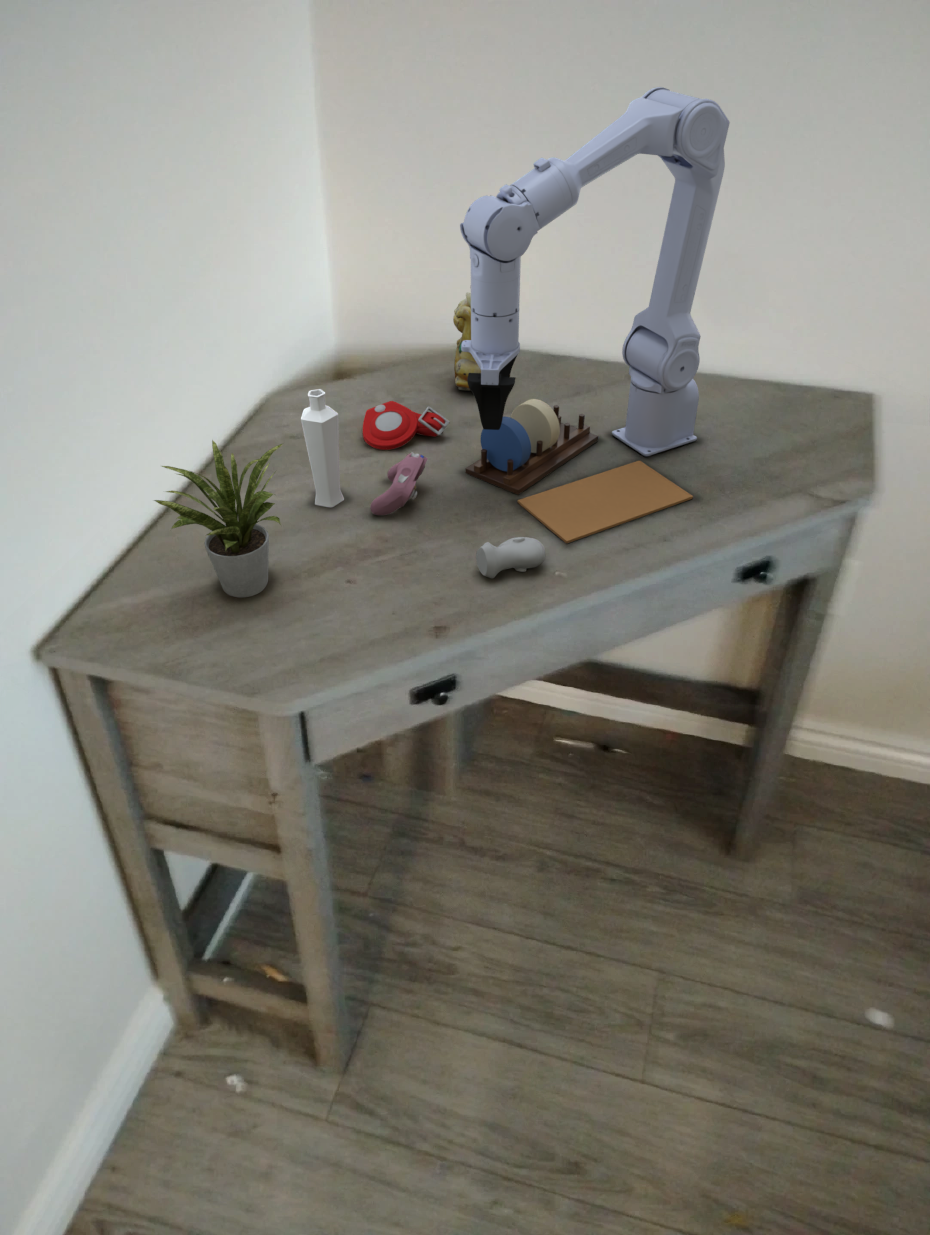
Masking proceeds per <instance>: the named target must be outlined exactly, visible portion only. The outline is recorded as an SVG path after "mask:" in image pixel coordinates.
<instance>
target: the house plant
mask: <svg viewBox="0 0 930 1235" xmlns="http://www.w3.org/2000/svg"><path fill="white" fill-rule="evenodd" d="M284 443H285V442H283V443H280V444H278V445H275V446H274V447H272V448H270V449H269V450H267V451H266V452H265V453H264V454H262V456H260V458H257V459H253V460H251V461H250V462H248V463H247V464H246V465H245V466H244V468H243V470H242V471H241V474H240V479H239V476H238V475H239V474H238V464H237V461H236V458H235V455H234V453H233V452H231V455H230V468H231V469H230V470H231V474H230V471H229V469H228V468H227V467H226V466H225V461H224V456H223V454H222V453H221V451H220V448H219V447H218V445H217V443H216V442H215V441H214V440H213V439H212V441H211V447H212V453H213V460H214V466H215V474H216V479H217V481H218V483H219V488H218V486H217V485H216V484H215V483H213V481H212V480H211V479H209V478H208V477H206V476H203V475H202V474H200V473H197V472H195V471H192V470H189V469H184V468H180V467H179V468H178V467H176V466H170V465H161V467H162V468H164V469H167V470H171V471H173V472H177V475H179V476H181V477H184V478H186V479H188V480H189V481H190V482H192V483H193V484H194V485H195V486H196V487H197V488H198V489H199V490H200V491H201V493H202V494H203V495H204V496H205V497H206V499H207V500H208V501H209V502H210V504H211V505H212V506H213V508H211V507H209V505H207V504H206V503H205V502H203V501H202V500H200V499H199V498H197V497H195V496H193V495H191V494H189V493H187V492H183V491H178V490H167V491H163V492H164V493H170V494H177V495H181V496H184V497H187V498H189V499H191V500H193V501H194V502H196V503H197V504H199V505H201V506H203V507H204V508H206V509H207V510H208V511H210V512H211V513H212V514H214V516H216V517H217V518H218V519H219V520H221V521H219V520H218V519H215V517H212V516H210V515H209V514H207V513H205V512H202V511H199V510H196V509H194V508H191V507H189V506H185V505H182V504H180V503H176V502H173V501H169V500H162V499H161V500H159V499H154V500H152V501H153V502H155V503H158V504H159V505H161V506H164V507H166V508H169V509H170V510H172V511H173V512H174V513H177V514H178V515H179V516H177V517H176V518H175V520H177V519H178V520H177V521H176V522H174V523H173V525H172V527H171V528H170V530H172V529H177V528H181V527H183V526H184V527H185V526H188V525H198V526H203V527H205V528H206V529H208V530H209V531H211V532H209V533H207V534H206V536H205V540H204V544H203V545H204V548H205V551H206V553H207V555H208V558H209V560H210V562H211V564H212V565H211V566H212V567H213V569H214V571H215V573H216V577H217V578H218V581H219V583H220V586H221V588H222V590H223V591H224V592H225V594H227V595H228V596H230V597H234V598H248V597H253V596H255V595H258V594H260V593H261V592H262V591H264V590H265V588H266V587H267V585H268V583H269V559H270V558H269V552H270V549H269V548H270V535H269V531H268V530H267V529H266V528H265V527H264V526H263V525H260V524H259V522H262V521H271V522H276V523H278V524H279V525H280V526H282V524H281V519H280V517H278V516H276V515H270V516H265V517H263V518H261V517H262V516H263V515H265V514H266V513H267V512H268V511H269V510H270V509H272V508H273V506H274V505H276V503H275V502H271V501H267V500H269V499H270V498H271V497H272V496H276V494H275V493H272V492H269V491H265V488H266V487H267V485H268V483H269V482H270V481H271V479H272V478H273V476H274V475H275V474H276V472H277V470H278V469H277V470H276V471H274V472H273V473H272V474H271V476H270V477H269V478H268V479H267V480H266V482H265V483H264V484H263V487H262V488H261V489H260V490H258V491H256V490H257V488H258V486H259V485H260V483H261V482H262V479H263V477H264V476H265V473H266V471H267V469H268V467H269V465H270V464H271V461H270V462H268V461H269V460H270V457H272V455H273V454H274V452H276V451H277V450H278V449H280V448H281V447H282V446H283V445H284ZM267 463H268V464H267ZM253 464H254V467H253V468H252V470H251V473H250V475H249V478H248V479H249V480H248V484H247V488H246V491H245V495H244V499H243V502H242V498H241V492H242V485H243V481H244V478H245V476H246V474H247V472H248V470H249V469H250V467H251V466H252V465H253ZM266 464H267V465H266ZM204 479H205V480H204ZM207 482H208V483H207ZM216 512H217V513H218V514H217V513H216ZM260 518H261V519H260ZM222 522H223V523H224V524H223V523H222Z"/></svg>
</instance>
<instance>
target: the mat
mask: <svg viewBox="0 0 930 1235" xmlns="http://www.w3.org/2000/svg"><path fill="white" fill-rule="evenodd" d="M693 498H694V495H692V494H691V493H689V492H687V491H686V490H685V489H684V488H681V487H680V486H678V485H677V484H676V483H674V482H673V481H671V480H670V479H668V478H667V477H666V476H664V475H663V474H661V473H659V472H658V471H656V470H655V469H653V468H652V467H650V466H649V465H647V463H644V462H643V461H642V460H636V461H633V462H630V463H627V464H624V465H621V466H617V467H614V468H611V469H609V470H605V471H602V472H599V473H597V474H594V475H591V476H587V477H584V478H581V479H578V480H575V481H572V482H569V483H566V484H562V485H559V486H557V487H553V488H549V489H547V490H544V491H542V492H538V493H535V494H532V495H529V496H526V497H522V498H520V499H517V504H518V505H519V506H521V507H522V508H523V509H524V510H526V511H527V512H528V513H529V514H530V515H531V516H533V517H534V518H535V519H536V520H538V521H539V522H540V523H541V524H542V525H543V526H545V527H546V528H547V529H548V530H550V532H552V533H553V534H554V535H556V537H558V538H559V539H560V540H561V541H562V542H564V543H565V544H569V543H572V542H575V541H578V540H580V539H584V538H587V537H589V536H592V535H594V534H598V533H600V532H601V533H602V532H603V531H606V530H609V529H611V528H615V527H618V526H620V525H623V524H626V523H629V522H632V521H634V520H637V519H639V518H643V517H645V516H648V515H652V514H653V513H656V512H659V511H662V510H665V509H668V508H670V507H673V506H677V505H678V504H679V505H680V504H682V503H684V502H687V501H690V500H692V499H693Z"/></svg>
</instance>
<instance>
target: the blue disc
mask: <svg viewBox="0 0 930 1235" xmlns="http://www.w3.org/2000/svg"><path fill="white" fill-rule="evenodd" d="M480 446H481V450H482V449H486V450H487V459H488V461H489V462H490V463H491V464H492V465H493V466H494V467H496V468H497V469H499V470H502V471H506V472H507V460H509V459H512V460H513V471H514V470H515V469H517V468H519V467H520V466H522V465H523V464H525V463H526V462H527V461H528V459H529V457H530V454H531V442H530V439H529V436H528V434H527V432H526V430H525V429H524V427H523V426H522V425H521V424H520V423H519V422H518V421H516V420H515V419H513V418H511V416H506V415H505V416H504V415H503V419H502V423H501V427H500V429H499V430H487V429H483V428H482V430H481V433H480Z"/></svg>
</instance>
